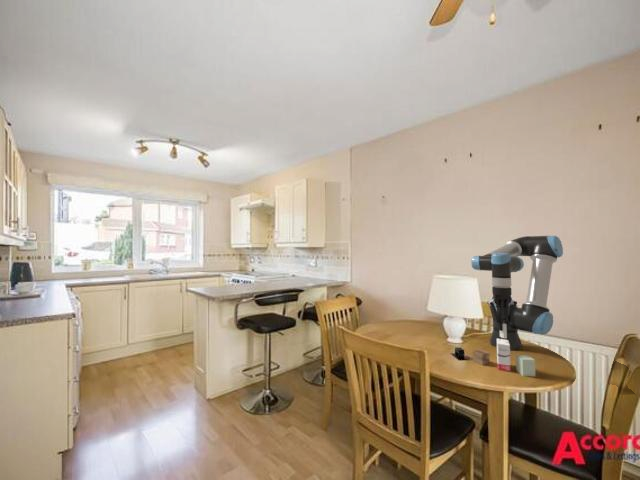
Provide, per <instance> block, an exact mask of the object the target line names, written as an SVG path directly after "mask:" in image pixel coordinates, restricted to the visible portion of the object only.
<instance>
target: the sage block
mask: <svg viewBox="0 0 640 480" xmlns="http://www.w3.org/2000/svg"><path fill="white" fill-rule="evenodd" d="M515 358H516V359H515V364H516V365H515V366H516V367H515V369H516V372H517V373H519V374H520V375H521V376H522V377H536V360H535V359H534V358H533V357H531V356H529V355H522V354H519V355H518V354H516V355H515Z"/></svg>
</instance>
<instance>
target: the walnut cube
mask: <svg viewBox="0 0 640 480" xmlns="http://www.w3.org/2000/svg"><path fill="white" fill-rule="evenodd" d="M490 358H491V357H490V352H488V351H485V350H482V349H477V350H472V361H474V362H473V363H475V364H479V365H481V366H485V365H488V364H491V363H490V361H491V360H490Z"/></svg>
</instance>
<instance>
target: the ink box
mask: <svg viewBox="0 0 640 480" xmlns="http://www.w3.org/2000/svg"><path fill="white" fill-rule="evenodd" d="M496 364H497V369H498V371H499V370H501V371H506V372H511V371H512V369H511V367H512V366H511V350H510V344H509V341H508V340H504V339H497V347H496Z"/></svg>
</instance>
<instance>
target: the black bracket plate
mask: <svg viewBox="0 0 640 480" xmlns="http://www.w3.org/2000/svg"><path fill="white" fill-rule="evenodd" d="M450 355H451V356H453V357H454V358H455V359H456V360H457V361H470V359H469V358H468V357H466V356H465V349H463V348H462V347H459V346H458V347H454V352H451V353H450Z"/></svg>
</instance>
